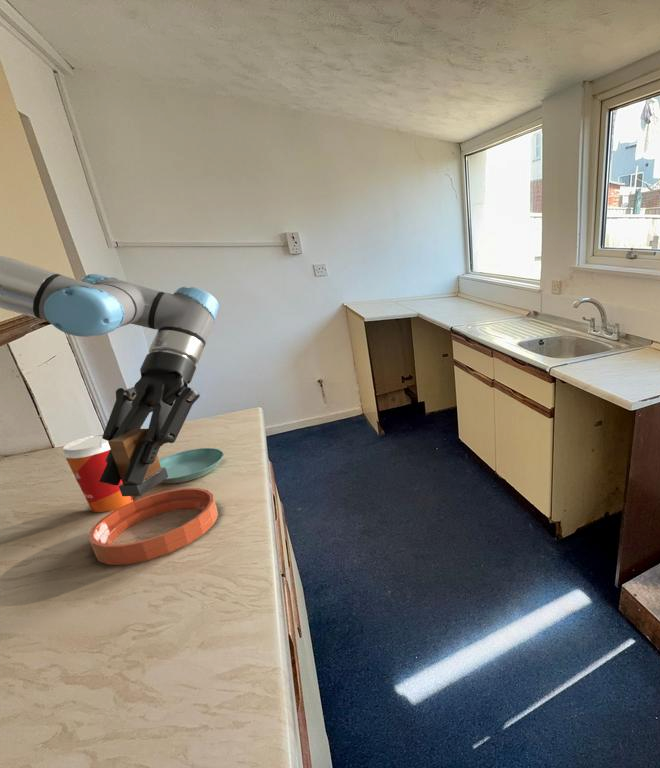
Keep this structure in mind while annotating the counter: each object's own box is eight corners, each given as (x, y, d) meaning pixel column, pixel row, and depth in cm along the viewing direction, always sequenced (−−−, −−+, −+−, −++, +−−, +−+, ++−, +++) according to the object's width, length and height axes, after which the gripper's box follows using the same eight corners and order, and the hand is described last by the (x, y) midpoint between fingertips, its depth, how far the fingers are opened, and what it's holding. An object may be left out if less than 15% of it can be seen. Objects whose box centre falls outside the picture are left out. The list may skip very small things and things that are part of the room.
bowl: (67, 570, 66) (57, 547, 64) (153, 507, 82) (147, 488, 81) (173, 567, 66) (166, 545, 65) (238, 505, 82) (233, 487, 81)
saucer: (136, 494, 86) (133, 484, 85) (161, 463, 99) (158, 454, 98) (217, 480, 92) (215, 470, 91) (231, 452, 105) (229, 443, 104)
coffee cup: (100, 500, 84) (76, 436, 80) (147, 492, 87) (127, 430, 82) (75, 523, 77) (47, 454, 72) (128, 514, 80) (104, 447, 75)
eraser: (140, 496, 67) (121, 442, 64) (122, 496, 67) (102, 442, 63) (168, 477, 72) (153, 427, 69) (151, 477, 72) (135, 427, 69)
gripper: (228, 369, 79) (186, 487, 68) (145, 369, 78) (90, 489, 68) (202, 349, 72) (153, 476, 62) (112, 349, 72) (46, 478, 61)
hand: (120, 483), depth 65 cm, fingers closed on eraser, 3 cm apart
